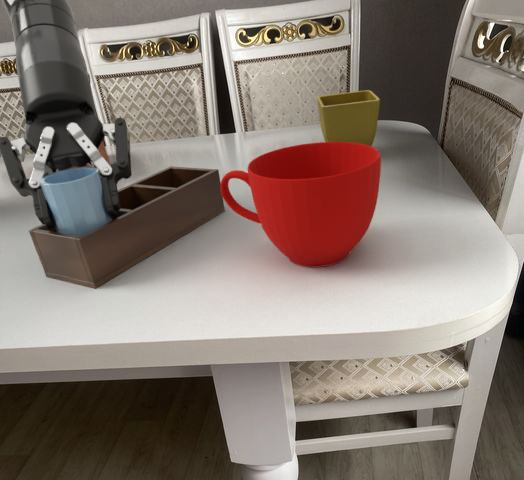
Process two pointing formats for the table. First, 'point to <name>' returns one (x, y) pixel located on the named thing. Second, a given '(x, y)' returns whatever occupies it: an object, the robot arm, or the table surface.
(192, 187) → the compartment box
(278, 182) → the ceramic cup
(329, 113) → the flower pot
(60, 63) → the robot arm
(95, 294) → the table surface
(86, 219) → the blue cup
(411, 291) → the table surface
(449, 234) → the table surface
